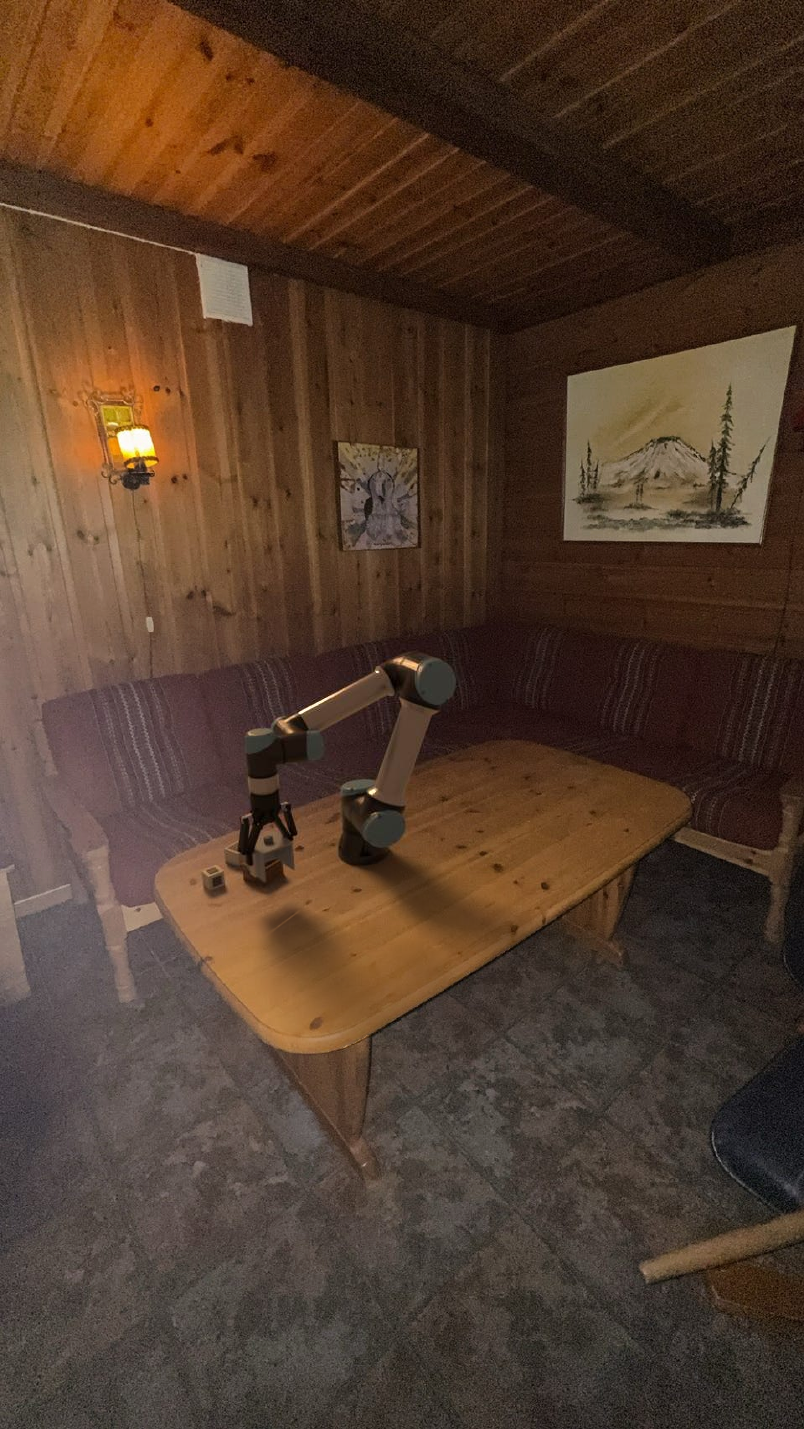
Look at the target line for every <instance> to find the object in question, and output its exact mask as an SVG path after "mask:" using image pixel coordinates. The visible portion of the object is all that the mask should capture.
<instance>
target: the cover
mask: <svg viewBox="0 0 804 1429" xmlns="http://www.w3.org/2000/svg"><path fill="white" fill-rule="evenodd" d="M254 853H255V854H256V860H257V871H258V878H260V879H261V880H262V881H264V882H266V873H265V863H266V862H269V861H271V860H274V859H278V860H279V861H281V862H282V863H283V865H285V866H286V867H288V868H289V869H291V870H292V871H294V870H295V869H296V868H295V856H294V855H295V853H294V843H293V841H290V840H289V839H287V838H285V837H284V836H283V835H282V834H281V833H279V832H278V831H276V830H273V831H269V832H267V833H264V834H262V835H259V837H258V840H257V843H256V846H255V849H254ZM247 869H248V870H249V871H250V866H249V865H247Z"/></svg>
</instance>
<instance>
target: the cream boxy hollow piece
mask: <svg viewBox="0 0 804 1429" xmlns="http://www.w3.org/2000/svg"><path fill="white" fill-rule="evenodd" d="M200 872H201V878H202V879H201V880H202V885H203V886H204V887H205V888H207V890H209V892H211V891H213V890H216V889H219V888H221V887H224V886H225V885H226V880H225V873H224V870H223V869H222V868H221V867H220V866H218V865H217V864H215V865H213V866H211V867H210V866H209V867H208V868H205V869H202V870H201V871H200Z"/></svg>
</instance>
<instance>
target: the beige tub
mask: <svg viewBox="0 0 804 1429" xmlns="http://www.w3.org/2000/svg"><path fill="white" fill-rule="evenodd" d="M238 843H239V840H237V841H235V842H233V843H231V844H230V845H228V846H226V847H224V848H223V851H224V861H225V863H227V864H230V865H232V866H234V867H237V868H242V863H244V862H245V861H246V855H242V854H241V853H239V852H238Z"/></svg>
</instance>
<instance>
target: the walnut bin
mask: <svg viewBox="0 0 804 1429" xmlns="http://www.w3.org/2000/svg"><path fill="white" fill-rule="evenodd" d="M241 868H242V870H241V871H242V876H243V878H242V879H243V881H247V882H250V883H252V884H254V885H257V886H260V887H262V888H264V887H267V886H269V884H270V883H273V882H274V881H275V880H278V878H280V877H282V876H283V875H284V874H285V873H284V864H283V863H282V862H281V861H279V860H278V859H274V860H271V861H269V862H266V863H265V873H266V882H264V881H262V880H261V879H260V878H258V877H256V878H255V877H254V876H253V875H251V874H250V871H249V870H248V869H247V863H246V861H245V862H244V863H242V866H241Z"/></svg>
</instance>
